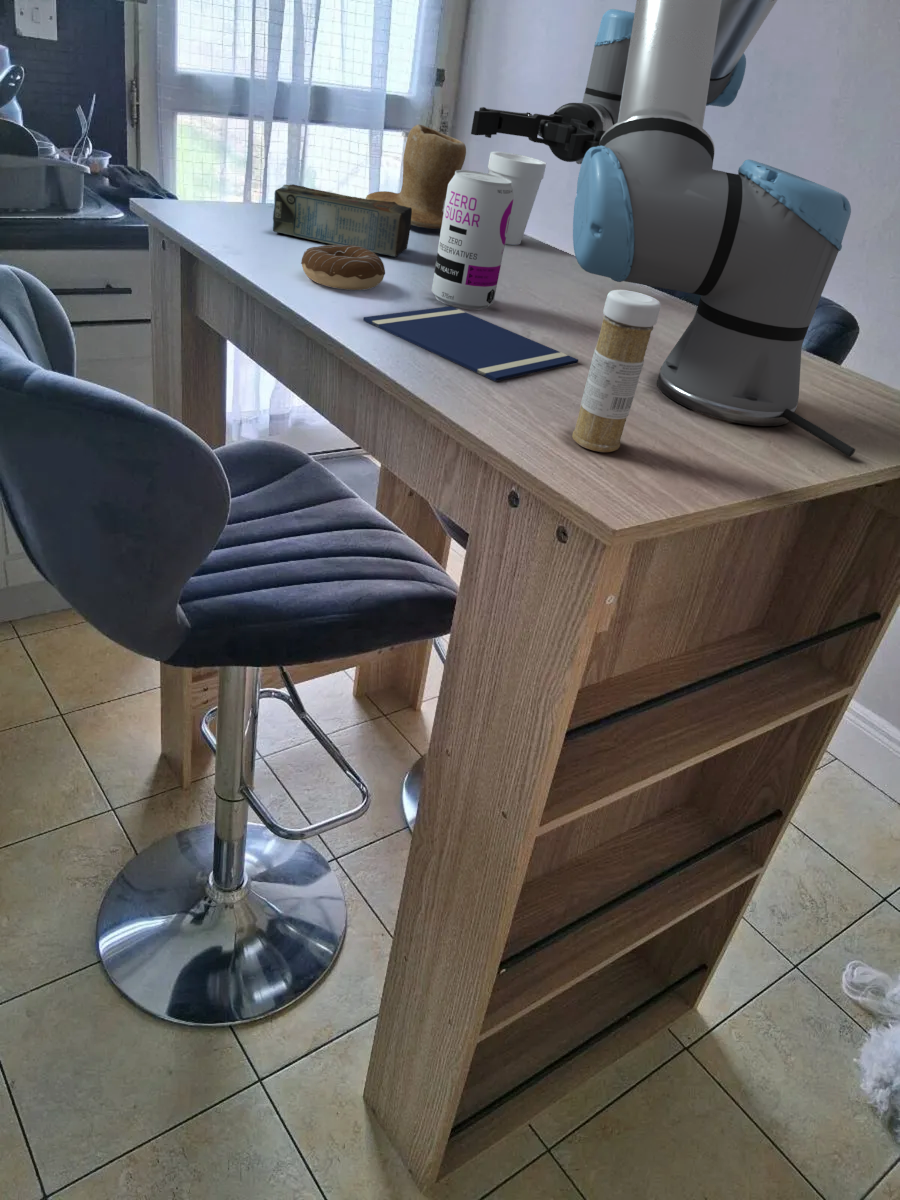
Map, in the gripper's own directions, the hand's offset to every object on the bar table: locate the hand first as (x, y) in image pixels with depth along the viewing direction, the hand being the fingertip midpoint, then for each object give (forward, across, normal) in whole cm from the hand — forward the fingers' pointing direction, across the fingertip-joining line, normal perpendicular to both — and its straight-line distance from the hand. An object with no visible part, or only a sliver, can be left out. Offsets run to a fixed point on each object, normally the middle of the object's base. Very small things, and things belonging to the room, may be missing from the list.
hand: (522, 134), depth 114 cm
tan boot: (-28, +28, -20) cm, 44 cm away
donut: (+18, +13, -20) cm, 30 cm away
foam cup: (-34, +14, -20) cm, 42 cm away
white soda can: (+10, 0, -20) cm, 22 cm away
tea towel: (+25, -9, -19) cm, 32 cm away
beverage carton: (-1, +26, -20) cm, 33 cm away
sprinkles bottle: (+42, -30, -19) cm, 55 cm away
